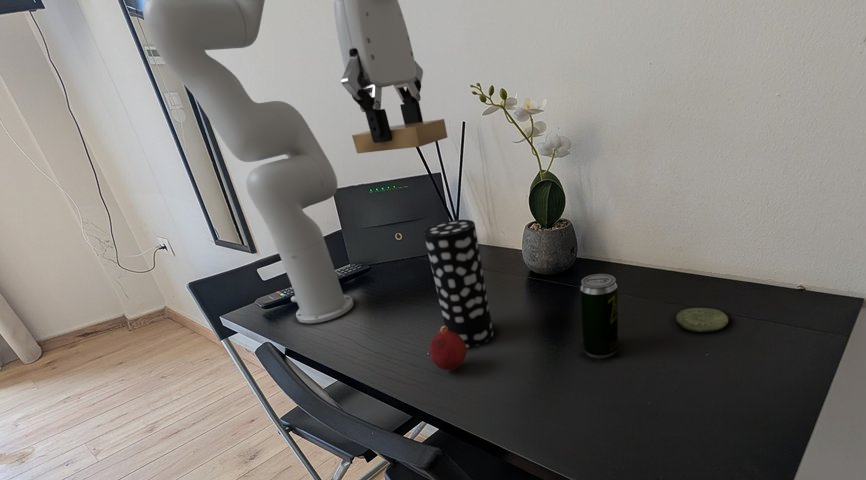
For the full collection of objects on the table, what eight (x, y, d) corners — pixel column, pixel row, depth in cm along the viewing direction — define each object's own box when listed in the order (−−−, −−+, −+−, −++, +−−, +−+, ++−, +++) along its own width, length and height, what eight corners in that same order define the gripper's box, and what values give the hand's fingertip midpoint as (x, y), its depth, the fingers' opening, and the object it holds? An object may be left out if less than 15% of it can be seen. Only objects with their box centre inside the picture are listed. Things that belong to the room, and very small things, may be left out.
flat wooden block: (356, 153, 70) (351, 135, 69) (386, 144, 75) (382, 127, 74) (419, 146, 64) (415, 126, 63) (447, 137, 69) (444, 118, 68)
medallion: (680, 307, 82) (681, 303, 82) (730, 311, 79) (731, 307, 78) (671, 329, 77) (672, 325, 76) (725, 334, 73) (725, 330, 73)
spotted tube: (488, 347, 81) (467, 233, 70) (442, 348, 83) (416, 238, 72) (497, 324, 88) (479, 217, 77) (455, 325, 90) (432, 222, 79)
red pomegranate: (456, 383, 73) (446, 338, 69) (428, 376, 76) (416, 333, 72) (476, 364, 77) (468, 320, 73) (449, 358, 80) (439, 316, 76)
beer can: (581, 359, 73) (577, 288, 67) (586, 341, 78) (582, 273, 71) (616, 360, 72) (615, 287, 65) (619, 342, 76) (618, 272, 70)
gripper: (385, -5, 68) (415, 129, 77) (291, -10, 56) (340, 150, 65) (426, -18, 64) (452, 124, 73) (335, -27, 52) (380, 146, 61)
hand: (399, 135), depth 69 cm, fingers closed on flat wooden block, 7 cm apart
